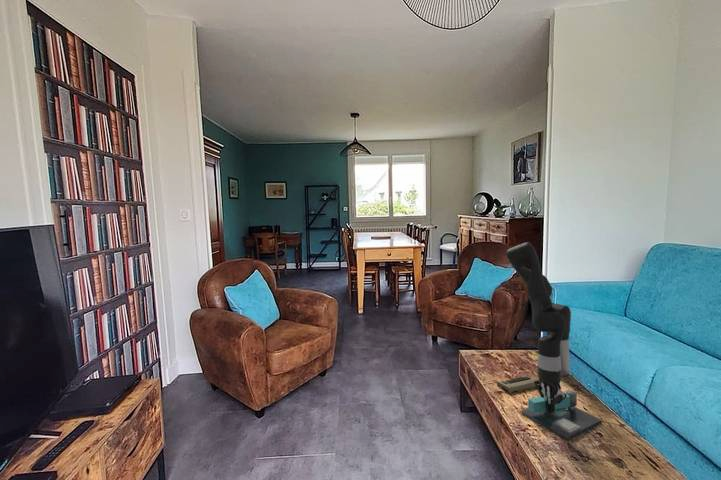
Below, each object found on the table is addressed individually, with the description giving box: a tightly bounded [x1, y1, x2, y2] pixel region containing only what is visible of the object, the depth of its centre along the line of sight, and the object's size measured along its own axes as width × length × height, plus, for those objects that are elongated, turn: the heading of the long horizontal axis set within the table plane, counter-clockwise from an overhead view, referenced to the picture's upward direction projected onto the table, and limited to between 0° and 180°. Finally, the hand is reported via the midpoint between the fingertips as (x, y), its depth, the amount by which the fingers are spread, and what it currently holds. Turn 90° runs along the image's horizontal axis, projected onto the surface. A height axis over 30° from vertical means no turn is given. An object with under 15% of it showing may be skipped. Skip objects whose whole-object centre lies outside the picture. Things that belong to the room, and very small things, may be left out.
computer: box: [496, 375, 537, 395], centre depth 151 cm, size 16×8×3 cm, turn 108°
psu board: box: [520, 406, 603, 442], centre depth 126 cm, size 20×18×3 cm
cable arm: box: [527, 389, 578, 413], centre depth 129 cm, size 20×4×4 cm, turn 103°
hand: (550, 411), depth 124 cm, fingers closed
